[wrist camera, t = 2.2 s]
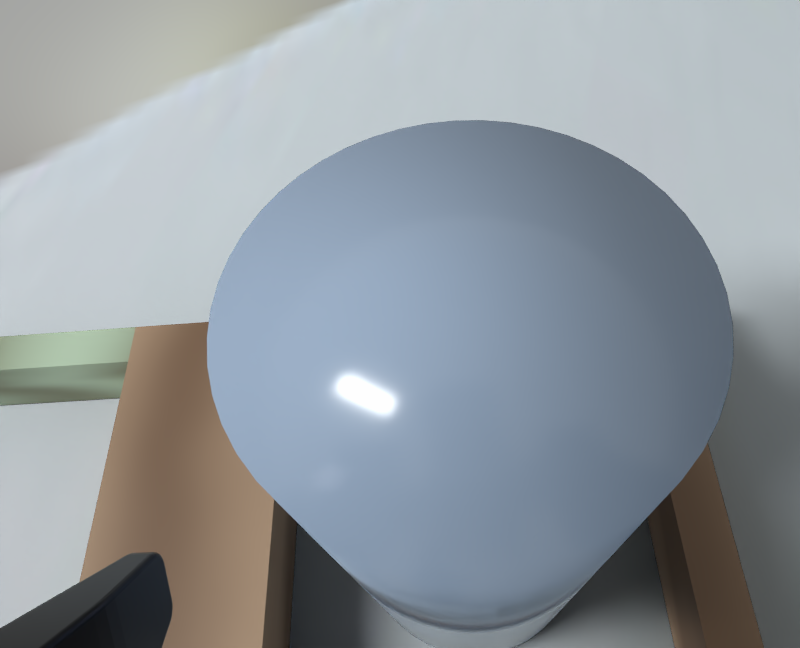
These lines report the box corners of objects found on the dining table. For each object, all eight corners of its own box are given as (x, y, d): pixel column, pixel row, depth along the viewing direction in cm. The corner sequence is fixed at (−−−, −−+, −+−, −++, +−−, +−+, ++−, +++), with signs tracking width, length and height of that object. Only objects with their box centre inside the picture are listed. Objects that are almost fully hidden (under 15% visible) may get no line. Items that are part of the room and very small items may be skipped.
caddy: (646, 331, 21) (665, 289, 19) (762, 806, 15) (812, 824, 12) (-134, 383, 23) (-197, 350, 21) (-326, 815, 17) (-444, 832, 15)
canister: (473, 710, 16) (467, 729, 5) (322, 535, 19) (113, 311, 8) (622, 537, 18) (844, 289, 7) (465, 398, 20) (453, 62, 10)
